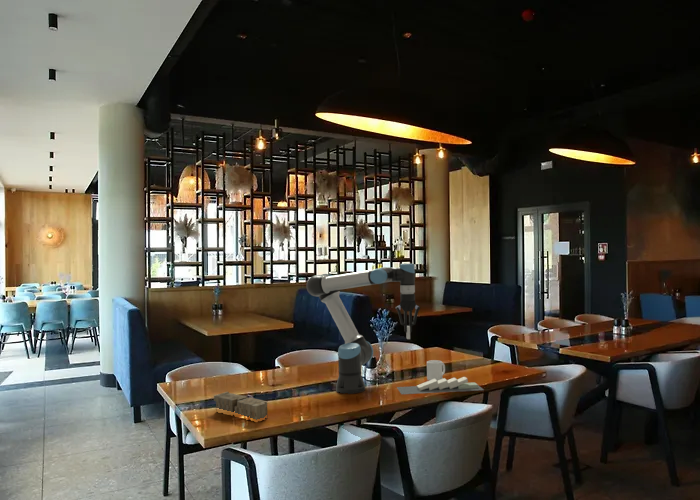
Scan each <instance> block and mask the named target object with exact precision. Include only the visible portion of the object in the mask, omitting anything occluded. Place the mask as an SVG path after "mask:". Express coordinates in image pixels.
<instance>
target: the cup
mask: <svg viewBox="0 0 700 500" xmlns="http://www.w3.org/2000/svg"><path fill="white" fill-rule="evenodd" d="M445 373H446V365H445V363H444V362H443V361H442V360H437V359H430V360H428V361H427V360H426V381H430V380H432V379H436V380H437V381H438V380H441V379H443V375H445Z"/></svg>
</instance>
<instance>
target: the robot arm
mask: <svg viewBox="0 0 700 500" xmlns="http://www.w3.org/2000/svg"><path fill="white" fill-rule="evenodd" d="M415 276H416V271H415V265H414V263H400V265H399V267H391V266H389V267H386V266H383V267H379V268H378V267H377V268H375V269H369V270H368V269H367V270H363V271H357V272H350V273H343V274H337V275H332V274H328V273H324V274H317V275H312V276H311V277H310V278H308V279H307V281H306V290H307V292H308V294H309V295H311V296H313V297H318V298H319V300H320V302H322V303H323V304H325V305H326V308H327V310H328V311H329V313H330V315H331V317H332V319H333V321H334V323H335V326H336V327H337V329H338V330H339V333H340V335H341V336H342V338H343V340H344V343H343V344H341V345H339V347H338V350H337V357H338V358H337V360H338V361H337V362H338V377H337V381H336V385H335V391H336V392H337V393H339V392H340V394H345V393H348V394H349V395H351V394H359V393H363V392H364V391H366V385H365V382H364V379H363V376H362V366H363V365H365V364H367V363H369V362H370V361H371V360H372V358H373V356H374V347H373V346H372V344H371V342H369V341H367V340H366V339H365V337H364V336H363V335H362V334H360V333H359V332H358V329H357V328H356V326H355V323H354V322H353V320H352V318H351V316H350V315H349V313H348V311H347V308H346V307H345V305H344V304H343V300H342V299H341V298H340V293H341V291H340V290H345V289H353V288H358V287H364V286H365V287H367V286H372V285H381V284H384V283H385V284H386V283H393V282H396V283H400V284H399V285H400V291H399V292H400V298H399V299H400V302H399V305H397V306H395V309H396V311H397V314H398V317H399V322H400V325H401V326H403V327H404V330H403V331H404V333H405V334H406V339H407V340H411V333H412V332H413V326H415V325H416V323H417V320H418V314H419V311H420V310H421V307H420V306H419V305H417V303H416V294H415V293H416V283H415V281H416V277H415ZM414 309H415V310H414ZM401 310H402V311H403V315H402V311H401ZM413 310H414V314H413Z"/></svg>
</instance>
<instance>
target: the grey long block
mask: <svg viewBox="0 0 700 500" xmlns="http://www.w3.org/2000/svg"><path fill="white" fill-rule="evenodd" d="M213 401H214V402H215V409H216V408H219V409H223V410H227V411H231V412H234V411H235V413H238V414H241V415H244V416H247V417H249V416H250V418H253V419H256V420H257V419H260V418H264V417H265V416H266V415H267V416H268V401H266V400H263V399H259V398H254V397H248V396H247V395H246V396H245V395H241V394H237V393H231V392H229V391H224V392H221V393H218V394H214V395H213Z"/></svg>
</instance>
